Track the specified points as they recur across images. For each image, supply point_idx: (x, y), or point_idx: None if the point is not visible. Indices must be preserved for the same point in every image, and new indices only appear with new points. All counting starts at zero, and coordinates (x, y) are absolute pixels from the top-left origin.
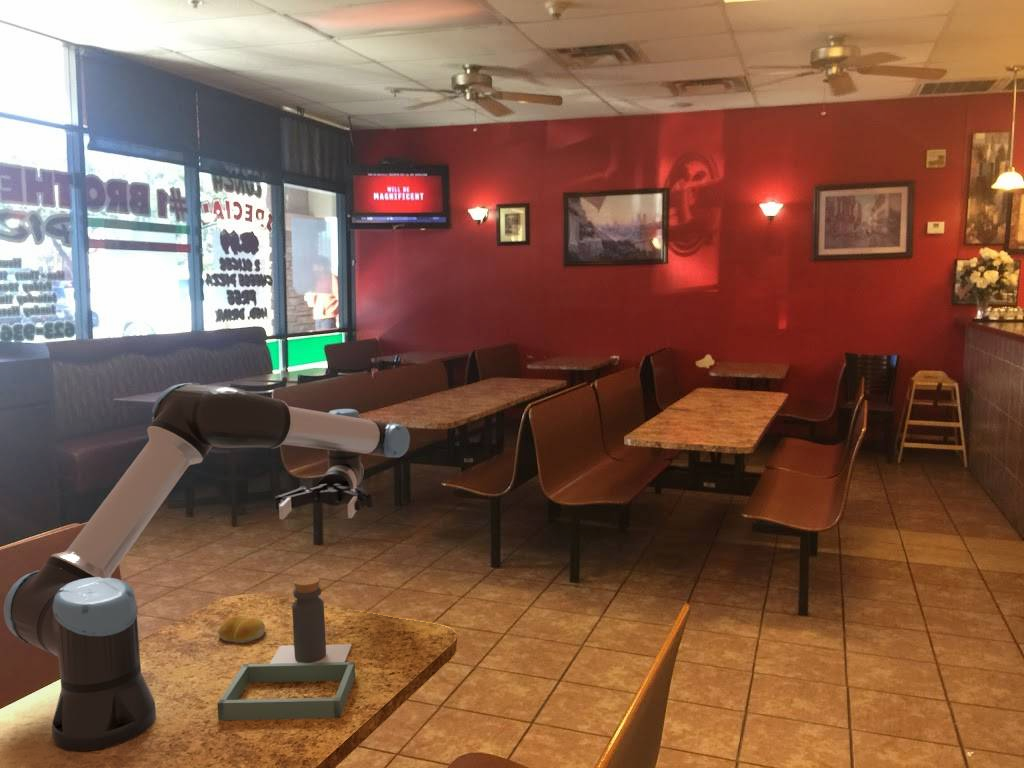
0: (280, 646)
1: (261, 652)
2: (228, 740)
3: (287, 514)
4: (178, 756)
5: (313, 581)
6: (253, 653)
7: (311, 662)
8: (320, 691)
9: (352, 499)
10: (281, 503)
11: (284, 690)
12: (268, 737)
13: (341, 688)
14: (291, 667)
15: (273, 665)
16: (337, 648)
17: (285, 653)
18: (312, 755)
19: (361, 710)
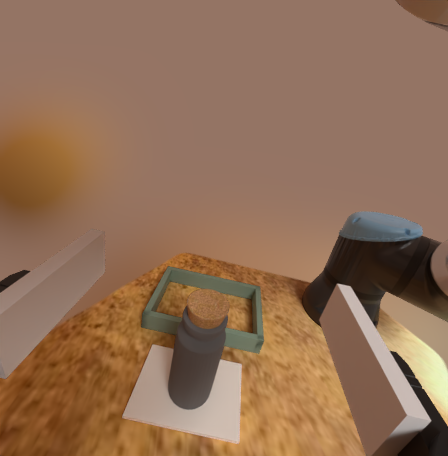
0: (238, 438)
1: (264, 433)
2: (241, 277)
3: (337, 369)
4: (265, 273)
5: (197, 295)
6: (275, 432)
7: None
8: (179, 313)
9: (43, 274)
10: (402, 371)
11: None
12: (215, 273)
13: (164, 278)
14: None
15: (230, 330)
16: (148, 403)
17: (225, 405)
18: (187, 254)
19: (148, 281)
